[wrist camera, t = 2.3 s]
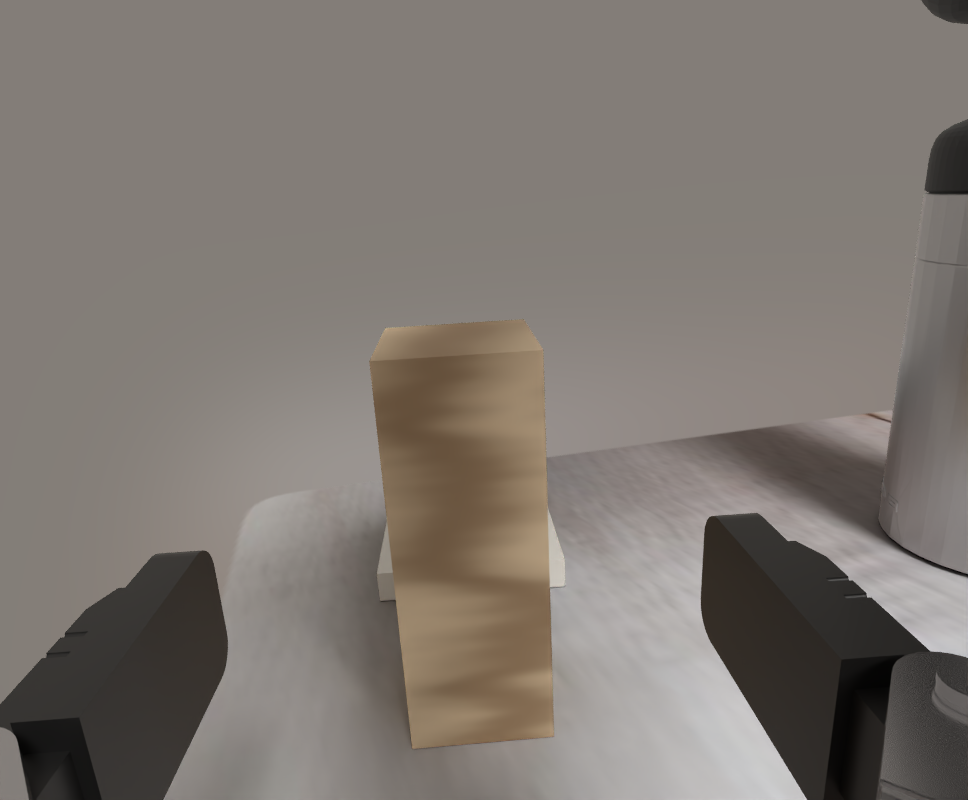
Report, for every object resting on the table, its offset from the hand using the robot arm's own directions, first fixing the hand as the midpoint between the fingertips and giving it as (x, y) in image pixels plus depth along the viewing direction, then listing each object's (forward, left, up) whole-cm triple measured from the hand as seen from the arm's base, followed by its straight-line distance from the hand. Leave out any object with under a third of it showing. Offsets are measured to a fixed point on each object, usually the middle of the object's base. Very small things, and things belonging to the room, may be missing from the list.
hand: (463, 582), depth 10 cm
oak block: (+6, -10, -12) cm, 17 cm away
